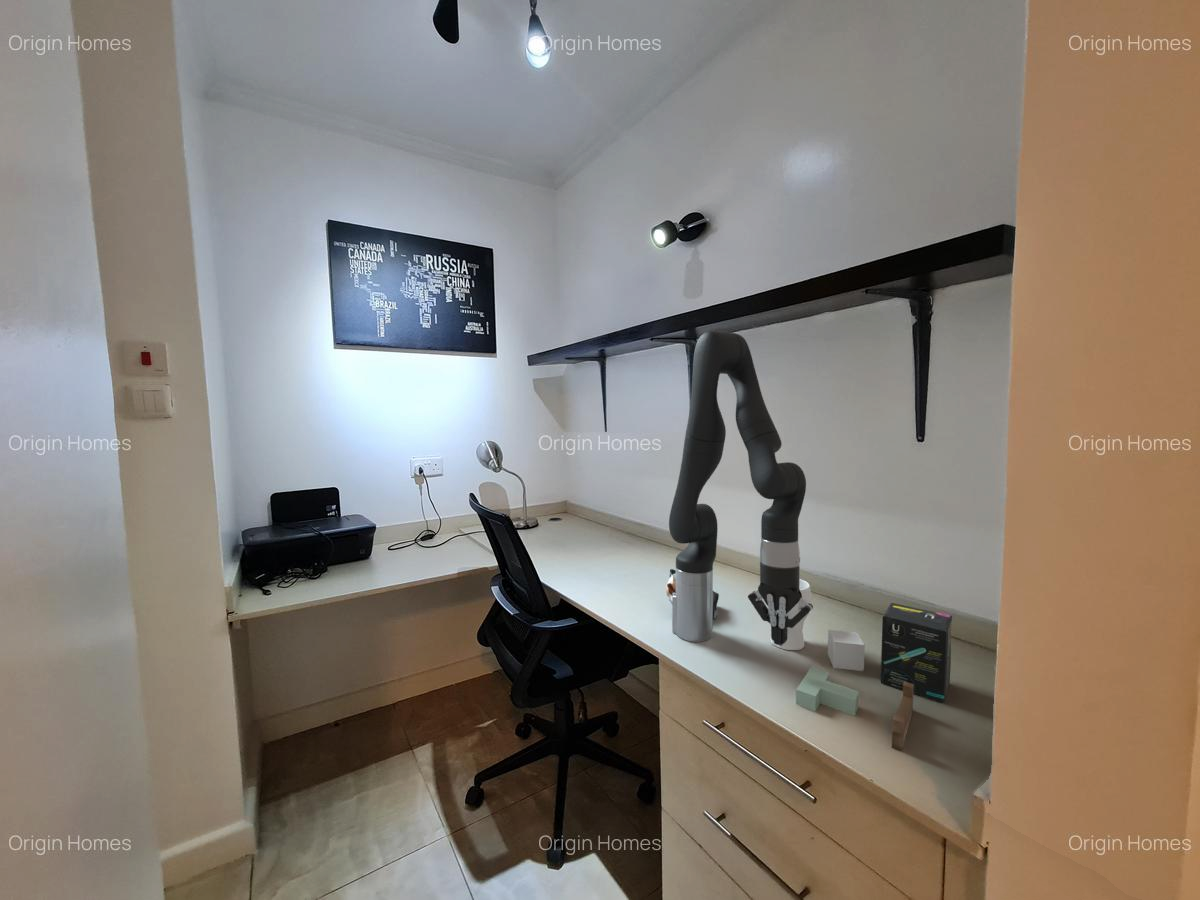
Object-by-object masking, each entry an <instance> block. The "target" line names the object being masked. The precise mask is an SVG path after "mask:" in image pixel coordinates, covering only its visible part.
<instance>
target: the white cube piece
mask: <svg viewBox="0 0 1200 900" xmlns="http://www.w3.org/2000/svg"><path fill="white" fill-rule="evenodd" d="M865 651H866V650H865V643H864V642H863V640H862V639H861V637H860V635H859V634H858V632H855V631H844V630H837V629H828V630H827V656H828V659H829V661H830V662H831V666H832V667H833V668H834V669H840V670H841V669H843V670H850V671H851V670H852V671H858V672H864V671H865Z"/></svg>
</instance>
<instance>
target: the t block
mask: <svg viewBox="0 0 1200 900" xmlns="http://www.w3.org/2000/svg"><path fill="white" fill-rule="evenodd" d="M796 704H797V705H796ZM820 704H822V705H824V706H826V707H829V708H832V709H834V710H837V711H840V712H842V713H845V714H848V715H851V716H853V717H855V716H856V714H857V712H858V710H859V707H860V691H858V690H856V689H853V688H849V687H847V686H844V685H841V684H838V683H834V682H832V681H830V673H829V672H827V671H823V670H821V669H818V668H814V667H810V668H809V670H808V671H807V672H806V675H805V676H804V678H803V679H802V681H801V682H800V683H799V684H798V686H797V687H796V690H795V705H796V706H798V707H802V708H805V709H807V710H810V711H812V712H816V711H817V710H818V708H819V706H820Z"/></svg>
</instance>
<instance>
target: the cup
mask: <svg viewBox="0 0 1200 900" xmlns="http://www.w3.org/2000/svg"><path fill="white" fill-rule="evenodd" d="M799 589H800V592H801V594H802V599H803V600H804V601H805V602H807V603H810V604H812V605H813V595H812V590H811V585H810V583H809V582H807V581H806V580H803V579H801V578H799ZM765 605H766V607H767V608H768V606H767V604H766V603H765ZM798 606H799V604H798V603H797V604H796V605H795V606H794V607H793V608H792V609H791V610H790V614H789V619H792V618H793V617H794V616H795V615H796V614H797V613H798V612H799V610H798ZM809 614H810V612H809V613H808V614H807V615H806V616H805V617H804V618H803V619H801V620H800V621H799V622H798V623H797V624H796V625H795V626H794V627H793V628H790V627H788V628H787V641H786V642H785V643H784V644H783V645H782V646H781V645H777V644H774V641H773V640H772V638H771V637H769V638H770V643H771V644H772V645H773V646H775V647H777V648H778V649H783V650H787V651H800V650H802V649H804V647H805V639H804V637H805V636H804V633H803V630H804V623H805V620H806V619H807V617H808V616H809Z"/></svg>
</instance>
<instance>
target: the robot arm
mask: <svg viewBox="0 0 1200 900" xmlns="http://www.w3.org/2000/svg"><path fill="white" fill-rule="evenodd" d="M752 357H753V355H752V352H751V350H750V348H749V344H748V342H747V340H746V339H745V338H744V337H743V336H742V335H740V334H738V333H735V332H729V331H728V332H727V331H717V330H714V331H713V330H709V331H705V332H703V334H701V335H700V337H699V338H698V340H697V342H696V344H695V348H694V353H693V362H692V378H691V379H692V380H691V393H690V394H691V395H690V403H689V410H688V411H689V413H688V419H687V425H686V430H685V436H684V443H683V451H682V459H681V463H680V464H681V465H680V468H679V469H680V470H679V475H678V480H677V484H676V490H675V493H674V497H673V500H672V505H671V508H670V513H669V518H668V519H669V520H668V528H669V530H668V531H669V534H670V536H671V538H672V540H674V542H675V543H677V544H682V545H683V544H688V545H687V546H686V547H685V548H684V549H683V550H682V551H680V552H679V553H678V554H677V555H676V557H675V570H676V594H675V595H674V596H673V597H672V603H671V605H672V609H671V610H672V613H671V615H672V616H671V617H672V619H671V621H672V624H671V625H672V626H671V627H672V629H671V630H672V633H674V634H675V635H676V636H678V637H679V638H680V639H682V640H685V641H689V642H693V643H694V642H698V643H699V642H705V641H709V640H710V639H712V637H713V620H712V618H713V591H714V587H713V586H714V584H713V583H714V582H713V581H714V576H713V575H714V567H713V566H714V562H715V560H716V556H717V547H718V546H717V545H718V531H719V530H718V527H719V526H718V519H717V515H716V513H715V511H714V509H713V508H712V507H711V506H710V505H709V504H707V503H698V502H699V498H700V495H701V492H702V490H703V488H704V486H705V485H706V484H707V482H708V480H709V479H710V478H711V477H712V475H713V474H714V472H715V471H716V469H717V468H718V467H719V464H720V462H721V461H722V457H723V452H724V447H725V441H726V436H727V435H726V433H727V432H726V426H725V425H726V424H725V422H724V418H723V415H722V412H721V410H720V406H719V403H718V385H719V379H720V374H721V375H723V374H724V375H727V377H728V378H729V379H730V380H731V381H730V382H731V383H732V385H733V386H734V390H735V394H736V395H735V396H736V403H735V405H736V406H735V423H736V426H737V430H738V433H739V435H740V437H741V440H742V441H743V444H744V446H745V449H746V451H747V456H748V458H747V459H748V466H749V472H750V477H751V482H752V484H753V488H754V489H755V490H756V492H757V493H758V494H759V495H760V496H762V497H763V498H764V499H768V500H773V501H772V504H771V506H770V507H769V508H767V509H766V510H764V511H763V512H762V514H761V518H760V519H761V520H760V521H761V523H760V527H761V528H760V530H761V532H760V544H759V545H760V546H759V547H760V548H759V549H760V550H759V580H760V583H759V585H758V587H757V590H753V591H752V592H750V593H749V594H748V596H747V599H748V600H749V601H750V603H751V605H752V606H753V608H754V609H755V611H756V612H757V614H758V615H759V616H760V618H761V620H762V621H764V622H767V623H769V624H770V628H771V629H770V638H772V640H773V641H774V644H777V645H781V646H782V645H783V644H784V643H785V642H786V641H787V628H788V627H790V628H793V627H794V626H795V625H796V624H797V623H798V622H799V621H800V620H801V619H803V618H804V617H805V616H806V615H807V614H808V613H809V614H810V612H811V611H812V610H813V609H814V605H813V603H812V604H810V603H807V602H805V601H804V600H803V599H802V594H801V592H800V589H799V579H800V563H801V557H800V556H801V555H800V553H801V552H800V546H799V518H800V514H801V511H802V507H803V503H804V499H805V495H806V492H807V491H806V490H807V479H806V475H805V472H804V471H803V469H802V467H800V466H799V464H797V463H795V462H787V461H786V462H777V461H778V460H777V458H776V453H777V452H778V451H780V449H781V448H782V439H781V436H780V434H779V432H778V430H777V428H776V426H775V424H774V421H773V420H772V418H771V414H770V413H769V411H768V408H767V406H766V403H765V400H764V397H763V394H762V390H761V387H760V382H759V379H758V375H757V372H756V368H755V365H754V361H753V358H752ZM797 603H798V604H799V606H798V610H799V612H798V613H797V614H796V615H795V616H794V617H793V618H792V619H789V614H790V610H791V609H792V608H793V607H794V606H795V605H796V604H797ZM766 604H767V605H766ZM767 606H768V608H767ZM809 614H808V615H809Z"/></svg>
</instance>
